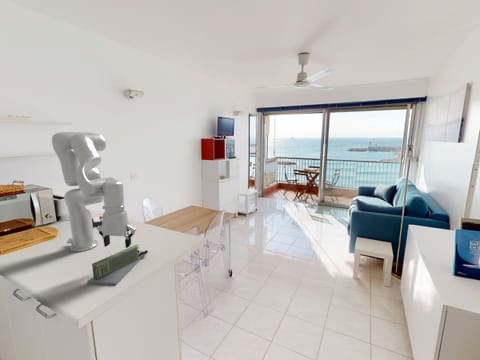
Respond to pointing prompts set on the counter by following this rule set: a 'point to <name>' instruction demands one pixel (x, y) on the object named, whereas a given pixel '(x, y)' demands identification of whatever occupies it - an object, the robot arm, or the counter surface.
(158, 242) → the counter surface
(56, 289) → the counter surface
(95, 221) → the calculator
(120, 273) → the charging dock
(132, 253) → the handheld radio
